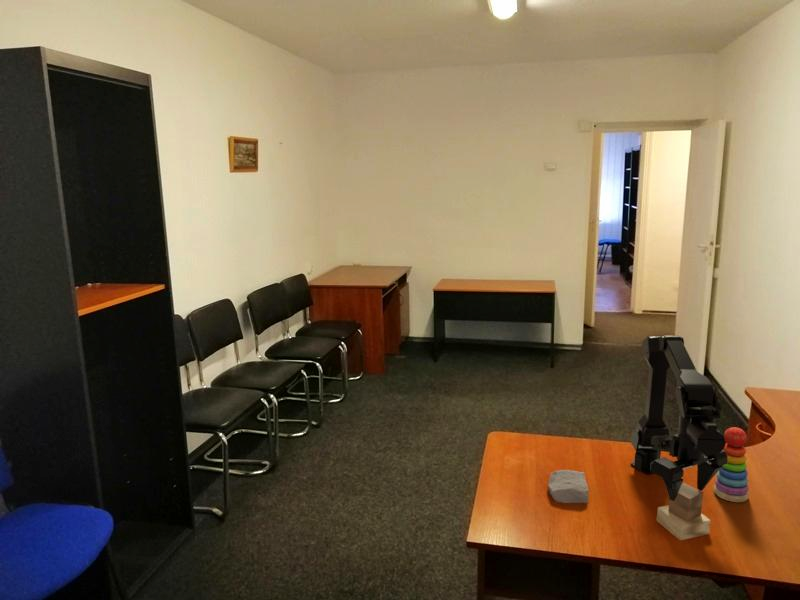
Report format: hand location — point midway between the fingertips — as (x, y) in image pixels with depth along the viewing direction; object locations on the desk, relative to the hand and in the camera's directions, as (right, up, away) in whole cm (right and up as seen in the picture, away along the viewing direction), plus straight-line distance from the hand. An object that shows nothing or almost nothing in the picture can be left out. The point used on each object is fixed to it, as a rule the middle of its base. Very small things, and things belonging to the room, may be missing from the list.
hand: (686, 494), depth 137 cm
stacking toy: (+19, -5, +14) cm, 24 cm away
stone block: (-23, -6, +19) cm, 30 cm away
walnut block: (0, -5, +1) cm, 5 cm away
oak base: (0, -9, +2) cm, 9 cm away
